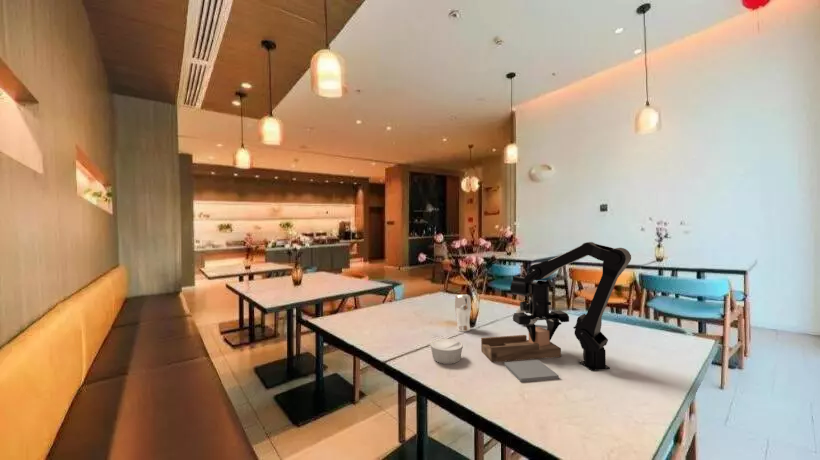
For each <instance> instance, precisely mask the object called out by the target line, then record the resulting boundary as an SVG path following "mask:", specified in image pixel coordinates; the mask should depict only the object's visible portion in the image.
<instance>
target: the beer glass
mask: <svg viewBox="0 0 820 460" xmlns="http://www.w3.org/2000/svg"><path fill="white" fill-rule="evenodd" d="M454 299H455V300H454V309H455V316H456V320H457V321H456V323H457V324H456V331H458V332H461V333H462V332H463V333H465V332H470V331H471V325H470V317H471V311H472V301H471V295H470V294H465V293H463V294H456V295H455V296H454Z"/></svg>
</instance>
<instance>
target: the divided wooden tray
mask: <svg viewBox="0 0 820 460" xmlns="http://www.w3.org/2000/svg"><path fill="white" fill-rule="evenodd" d="M527 338H528V337H527V334H519V335H503V336H490V337H489V336H488V337H481V338H480V339H481V340H480V342H481V346H480V347H481V353H482V354H483V355H484V356H485V357H486V358H487V359H488V360H489V361H490V362H491V363H501V362H502V363H504V362H514V361H527V360H540V359H550V358H553V359H554V358H561V357H562V348H561V347H560V346H559V345H556V344H555V343H553V342H552V341H550V344H549V345H544V346H539V344H538V343H530V342H529V339H527Z"/></svg>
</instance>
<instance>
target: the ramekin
mask: <svg viewBox="0 0 820 460" xmlns="http://www.w3.org/2000/svg"><path fill="white" fill-rule="evenodd" d="M429 344H430V345H429V346H430V349H431V354H432V359H433V360H434V361H435V362H436V361H437V363H438V362H439V363H438V364H442V363H443V365H444V364H445V365H452V363H453V364H455V363H458V362H459V361H460V360H461V357H462V350H463V348H464V346H463V343H462V341H459V340H457V339H452V338H439V339H435V340H433V341H431V342H430V343H429Z"/></svg>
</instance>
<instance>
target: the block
mask: <svg viewBox="0 0 820 460" xmlns="http://www.w3.org/2000/svg"><path fill="white" fill-rule="evenodd" d="M528 340H529V342H530V343H538V344H539V346H544V345H549V344H550V342H551V340H550V334H549V330H547V328H544V327H541V326H536V332H535V342H532V339H531V337H530V334H529V333H528Z"/></svg>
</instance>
